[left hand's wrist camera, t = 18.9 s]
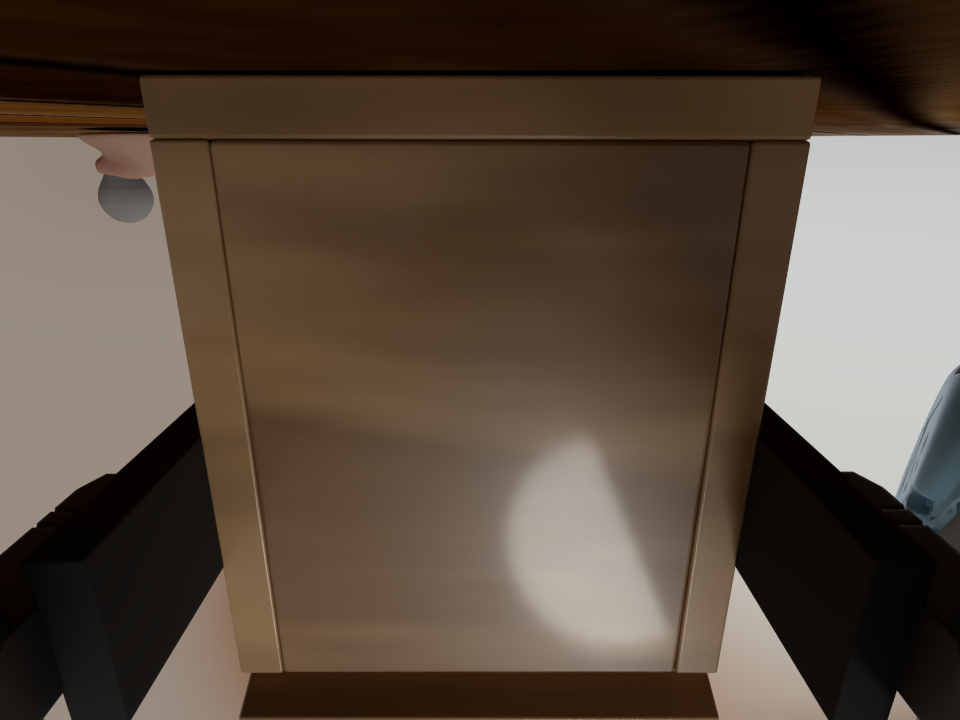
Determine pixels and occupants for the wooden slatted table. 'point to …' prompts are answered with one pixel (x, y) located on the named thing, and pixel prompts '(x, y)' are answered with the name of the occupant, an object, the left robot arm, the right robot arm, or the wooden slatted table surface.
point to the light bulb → (125, 198)
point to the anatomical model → (122, 153)
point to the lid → (478, 696)
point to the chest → (479, 355)
